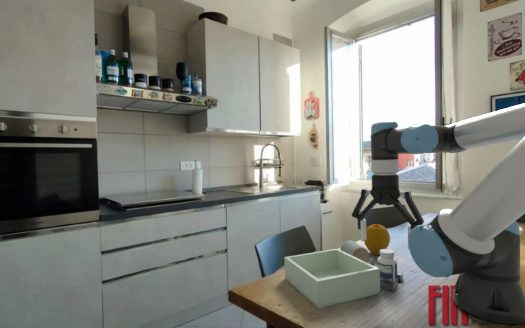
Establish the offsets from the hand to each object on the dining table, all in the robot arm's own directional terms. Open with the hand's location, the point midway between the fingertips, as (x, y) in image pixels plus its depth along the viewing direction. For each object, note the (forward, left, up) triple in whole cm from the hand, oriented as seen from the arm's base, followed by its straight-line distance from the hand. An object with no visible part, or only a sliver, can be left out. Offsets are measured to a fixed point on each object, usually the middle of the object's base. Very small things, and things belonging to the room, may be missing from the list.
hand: (385, 243), depth 87 cm
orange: (+22, -16, -12) cm, 29 cm away
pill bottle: (0, 0, -12) cm, 12 cm away
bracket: (0, 0, -12) cm, 12 cm away
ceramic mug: (+17, -3, -12) cm, 21 cm away
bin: (+5, +17, -12) cm, 21 cm away
